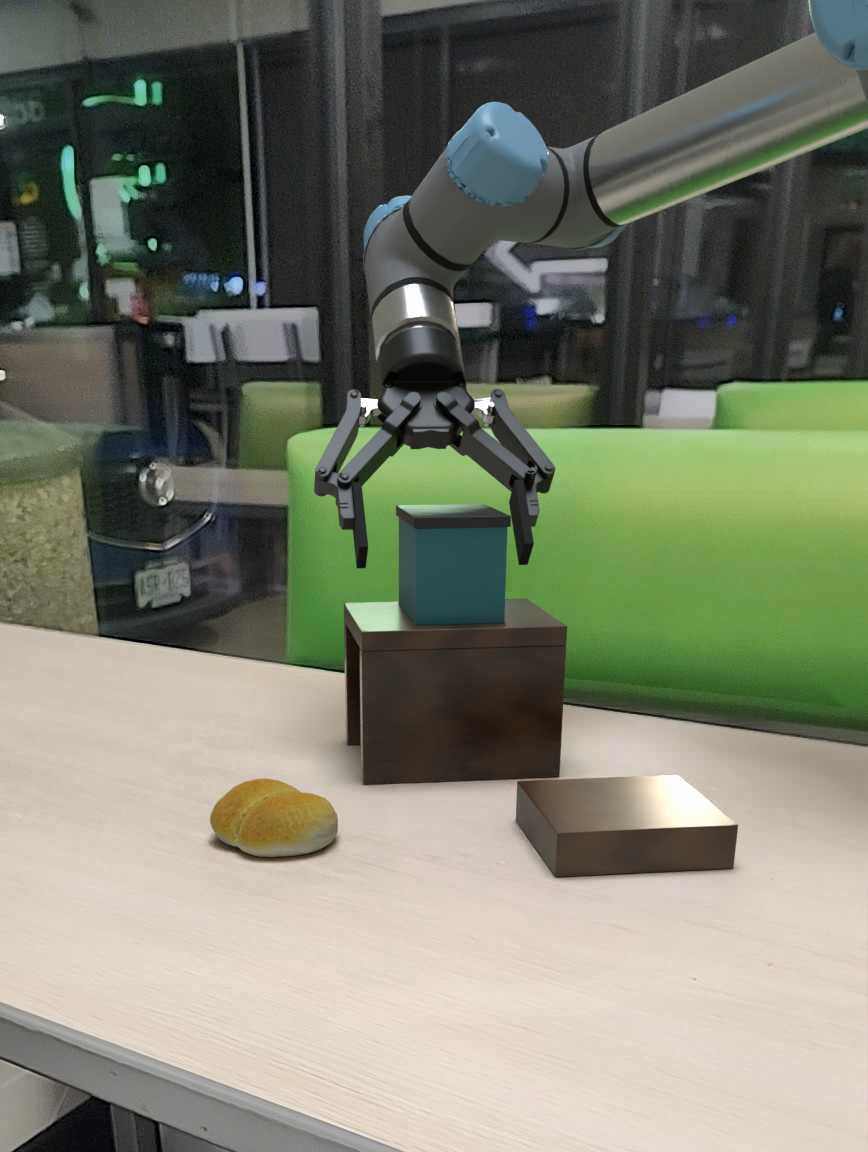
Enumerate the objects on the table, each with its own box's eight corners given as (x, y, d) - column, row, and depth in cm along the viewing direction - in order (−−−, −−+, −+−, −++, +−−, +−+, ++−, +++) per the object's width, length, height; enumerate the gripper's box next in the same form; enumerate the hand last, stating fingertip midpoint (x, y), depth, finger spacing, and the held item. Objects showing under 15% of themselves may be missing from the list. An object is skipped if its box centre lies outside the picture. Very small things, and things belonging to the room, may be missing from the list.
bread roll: (273, 869, 87) (271, 811, 86) (193, 838, 93) (190, 783, 92) (365, 840, 93) (365, 785, 91) (284, 813, 99) (282, 760, 97)
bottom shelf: (674, 813, 98) (678, 774, 97) (733, 868, 87) (738, 824, 86) (515, 820, 97) (516, 780, 95) (555, 877, 86) (557, 833, 85)
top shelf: (521, 734, 120) (527, 598, 115) (559, 776, 107) (567, 625, 102) (345, 740, 118) (343, 602, 113) (363, 784, 105) (361, 631, 100)
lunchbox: (481, 602, 113) (484, 503, 110) (507, 623, 103) (511, 515, 100) (395, 604, 112) (395, 505, 109) (413, 625, 103) (414, 517, 99)
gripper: (549, 388, 121) (582, 581, 113) (275, 390, 118) (291, 588, 111) (566, 322, 114) (604, 522, 106) (276, 322, 111) (293, 528, 104)
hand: (444, 556), depth 108 cm, fingers open, 13 cm apart
